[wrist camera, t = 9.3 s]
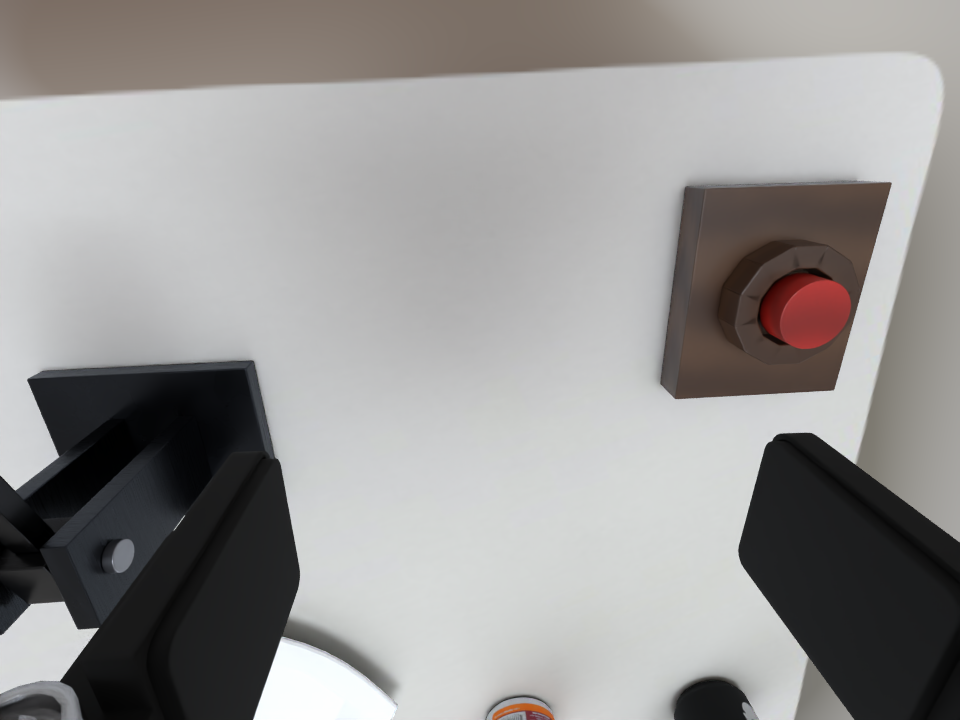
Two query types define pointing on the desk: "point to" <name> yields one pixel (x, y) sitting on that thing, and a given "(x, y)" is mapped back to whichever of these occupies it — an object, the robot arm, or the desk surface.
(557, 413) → the desk surface
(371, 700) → the plate
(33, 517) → the lever
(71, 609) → the bracket
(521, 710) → the pill bottle
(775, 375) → the control block
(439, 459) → the desk surface
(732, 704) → the beverage can
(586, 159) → the desk surface
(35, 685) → the robot arm
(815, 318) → the button
